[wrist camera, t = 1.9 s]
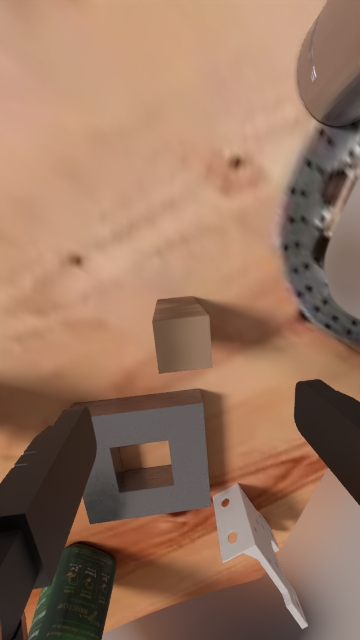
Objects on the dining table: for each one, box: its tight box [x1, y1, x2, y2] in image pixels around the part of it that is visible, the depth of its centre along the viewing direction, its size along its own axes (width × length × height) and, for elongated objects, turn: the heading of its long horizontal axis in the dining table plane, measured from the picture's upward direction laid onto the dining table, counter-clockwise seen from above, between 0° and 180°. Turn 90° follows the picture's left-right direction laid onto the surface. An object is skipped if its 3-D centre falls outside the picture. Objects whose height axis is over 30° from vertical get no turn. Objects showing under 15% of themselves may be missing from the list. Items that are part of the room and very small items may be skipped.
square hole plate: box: [70, 389, 211, 524], centre depth 28 cm, size 16×16×3 cm
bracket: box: [213, 483, 308, 629], centre depth 29 cm, size 11×4×10 cm, turn 33°
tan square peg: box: [152, 296, 212, 374], centre depth 20 cm, size 4×4×10 cm
